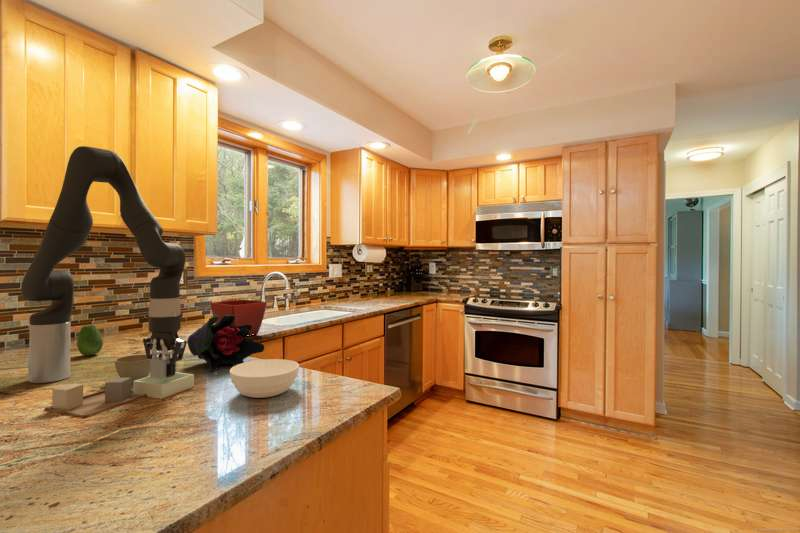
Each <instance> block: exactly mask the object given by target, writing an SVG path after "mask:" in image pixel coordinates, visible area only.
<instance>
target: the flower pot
mask: <svg viewBox="0 0 800 533" xmlns="http://www.w3.org/2000/svg"><path fill="white" fill-rule="evenodd" d="M114 367H115V370H116V373H117V374H118V376H119V378H132V384H133V381H135V380H138V379H142V378H145V377H148V376H150V359H147V356H146V353H145V354H142V353H141V354H130V355H125V356H120V357H117V358H115V359H114Z"/></svg>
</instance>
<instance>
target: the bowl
mask: <svg viewBox="0 0 800 533" xmlns="http://www.w3.org/2000/svg"><path fill="white" fill-rule="evenodd" d="M299 369H300V365H299V363H298V362H297V361H294V360H290V359H283V358H281V359H279V358H270V359H265V358H264V359H256V360H251V361H246V362H245V361H244V363H241V364H238V365H236V366H235V365H233V366H232V367H230V369H229V375H230V379H231V380H230V381H231V383H232V384H233V385H234V387H235V389H236V391H237V392H238V393H240V395H243V396H245V397H249V398H254V399H255V398H256V399H259V398H260V399H261V398H263V399H265V398H271V397H275V396H276V397H277V396H278V395H280V394H283V393H285V392H286V391H288V390H289V389H290V388H291V387H292V385H293V384H294V383H295V380H296V379H297V377H298V375H299V374H298V373H299Z"/></svg>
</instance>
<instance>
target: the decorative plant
mask: <svg viewBox="0 0 800 533" xmlns="http://www.w3.org/2000/svg"><path fill="white" fill-rule="evenodd" d="M218 318H219V317H218V316H217V315H216V314H215V315H214V316H213V315H212V316H211V317H210V318H209V319H208V320H207V321H206V322H205V323H204V324H203V325H202V326H201V327H200V328H197V329H196V330H195V331H194V332H192V333H191V334H190V335H189V336H188V338H187V340H186V341H187V347H188V350H189V351H190V353H191V355H192V356H194V357H195V356H197V358H198V359H199V360H204V361H205V362H206V363H207V364H208V366H209V368H210V372H216V371H217V370H218V367H219V366H220V363H222V364H229V365H232V366H236V365H238V364H241V363H245V361H244V360H245V359H247V358H248V357H250V356H252V355H255V354H259V353H263V352H264V351H265V346H264V344H263V343H261V342H257V341H253V340H251V339H249V338H248V337H246V336H247V335H248V334H249V330H251V328H252V326H250V325H243V326H231V325H232V322H233V321H234V319H235V316H233V315H224V316H223V317H222V319H221V320H220V321H219V322H218V323H216V324H215V322H216V320H218Z"/></svg>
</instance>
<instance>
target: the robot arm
mask: <svg viewBox="0 0 800 533" xmlns="http://www.w3.org/2000/svg"><path fill="white" fill-rule="evenodd" d="M134 181H135V180H134V179H133V177H132V175H131V173H130V171H129V170H128V167H127V166H126V163H125V162H124V160H123V158H122V157H121V155H119V154H118V153H117V152H115V151H113V150H108V149H103V148H98V147H93V146H92V147H91V146H85V145H81V146H78V147H76V148H75V149H74V150H72V152H71V154H70V156H69V159H68V162H67V166H66V170H65V173H64V179H63V182H62V186H61V190H60V193H59V196H58V199H57V201H56V204H55V207H54V209H53V211H52V214H51V216H50V218H49V220H48V224H47V226H46V228H45V232H44V235H43V236H42V237H43V238H42V240H41V243H40V245H39V247H38V250H37V252H36V254H35V256H34V258H33V260H32V261H31V263H30V265H29V267H28V269H27V271H26V273H25V274H24V277H23V279H22V283H21V289H20V290H21V295H22V298H23V299H25V300H27V301H29V302H48V301H51V303H50V305H49V306H47V307H46V308H44V309H42V310H41V311H40V310H39V311H37V312H35V313H32V314H31V315H30V316H29V332H28V333H29V348H28V354H27V355H28V362H27V363H28V366H27V367H28V373H27V374H28V375H27V376H28V379H27V380H28V383H30V384H45V383H52V382H57V381H61V380H62V381H63V380H65V379H68V378H70V376H71V335H72V334H71V328H72V327H71V324H72V323H71V322H72V321H71V320H72V319H71V317H72V314H73V308H74V307H73V305H74V292H75V282H74V278H73V274H71V272H70V271H67V270H60V269H59V270H54V269H55V267H56V266H58V264H60V263H61V262H62V261H63V260H65V259H66V258H67V257H70V256H71V255H72V254H73V253H75V252H76V251H78V250H79V249H81V247H82V246H84V244H85V243H86V242H87V240H88V237H89V235H90V232H91V231H92V228H93V223H94V220H93V215H92V213H91V209H90V207H89V205H88V201H87V200H88V198H87V197H88V194H89V191H90V188H91V185H92V184H93V183H94V182H97V183H103V184H104V183H108V184H109V185H110V186H111V187H112V188H113V189H114V190H115V192H116V193H117V195H118V198H119V211H120V212H119V213H120V217H121V219H122V221H123V223H124V224H125V226H126V227H127V229H128V230H129V232H131V233H130V234H132V235H133V237H134V238H135V239H136V243H137V246H138V248H139V251H140V253H141V256H142V258H143V261H145V262H146V263H147V264H148V265H150V266H151V267H153V268H157V269H158V268H159V272H158V273H159V274H158V275H157V276H154V277H153V278H152V279H151V280H150V284H149V303H148V332H149V333H151V335H150V336H149V337H145V338H143V339H142V342H143V346H144V351H145V354H146V356H147V359H154V358H158V357H162V356H165V357H166V362H167V364H166V377H171V376H174V375H175V372H177V371H176V368H177V366H176V364H177V362H179V361H182V360H183V358H184V354H185V351H186V348H187V347H186V346H187V345H188V343H187V340H186V339H184V340H182V339H180V338H179V335H178V334H179V333H178V332H179V331H180V330H181V310H182V309H181V298H180V294H181V293H180V290H181V289H180V288H181V287H180V286H181V285H180V284H181V279H182V276H183V273H184V268H185V265H186V253H185V250H184V248H183V247H182V246H181V245H180V244H177V243H174V242H165V241H164V240H163V239H162V238H161V237H162V235H163V233H164V230H163V227H162V226H161V224H160V222H159V221H158V219H157V218H156V217H155V215H154V214H153V213H152V212H151V210H150V209H149V207H148V205H147V204H146V202H145V201H144V200H143V197H142V196H141V194H140V192H139V189H138V187H137V185H136V183H135V182H134ZM170 357H172V358H170Z"/></svg>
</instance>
